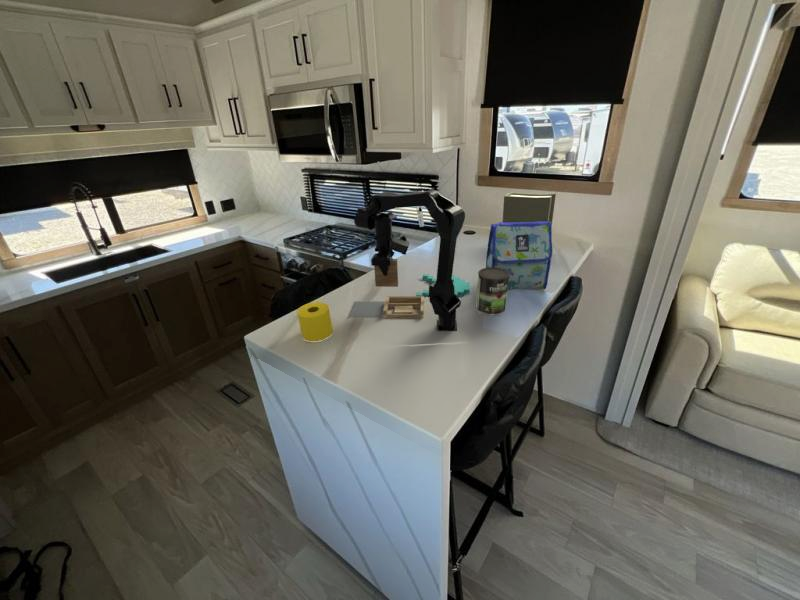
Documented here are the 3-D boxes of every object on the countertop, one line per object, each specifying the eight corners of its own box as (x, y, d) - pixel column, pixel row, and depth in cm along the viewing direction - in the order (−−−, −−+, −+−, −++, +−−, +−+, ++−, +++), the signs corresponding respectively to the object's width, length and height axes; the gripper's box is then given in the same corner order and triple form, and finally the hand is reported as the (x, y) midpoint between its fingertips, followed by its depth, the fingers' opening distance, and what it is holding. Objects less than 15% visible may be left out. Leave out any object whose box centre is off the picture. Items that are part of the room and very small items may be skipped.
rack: (423, 318, 123) (423, 311, 122) (383, 318, 125) (383, 311, 123) (424, 303, 133) (424, 296, 131) (387, 303, 134) (386, 296, 133)
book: (499, 251, 179) (502, 194, 166) (505, 245, 185) (509, 191, 173) (542, 257, 167) (550, 197, 154) (548, 251, 174) (555, 193, 161)
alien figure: (416, 300, 137) (468, 303, 133) (416, 295, 135) (469, 297, 132) (423, 278, 154) (470, 280, 150) (423, 273, 153) (470, 275, 149)
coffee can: (511, 313, 124) (515, 276, 117) (484, 318, 121) (487, 281, 115) (496, 300, 132) (499, 265, 126) (471, 304, 130) (473, 269, 124)
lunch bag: (490, 296, 136) (495, 230, 123) (482, 278, 150) (487, 217, 138) (549, 294, 135) (560, 227, 122) (535, 276, 149) (544, 215, 137)
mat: (380, 318, 125) (380, 317, 124) (347, 318, 126) (347, 317, 125) (385, 302, 135) (384, 301, 135) (354, 302, 136) (354, 301, 136)
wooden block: (397, 286, 126) (396, 260, 121) (375, 286, 127) (373, 260, 122) (398, 284, 127) (397, 259, 123) (376, 284, 128) (374, 258, 124)
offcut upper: (412, 314, 125) (412, 311, 124) (394, 314, 125) (394, 312, 125) (412, 308, 129) (412, 305, 128) (395, 309, 129) (394, 306, 129)
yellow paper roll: (326, 343, 112) (322, 318, 108) (297, 341, 114) (291, 316, 110) (336, 326, 121) (333, 302, 117) (309, 325, 123) (304, 301, 118)
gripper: (404, 241, 109) (406, 286, 116) (409, 223, 125) (410, 264, 132) (369, 241, 110) (372, 286, 117) (378, 223, 126) (381, 264, 134)
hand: (385, 274), depth 125 cm, fingers closed on wooden block, 2 cm apart
